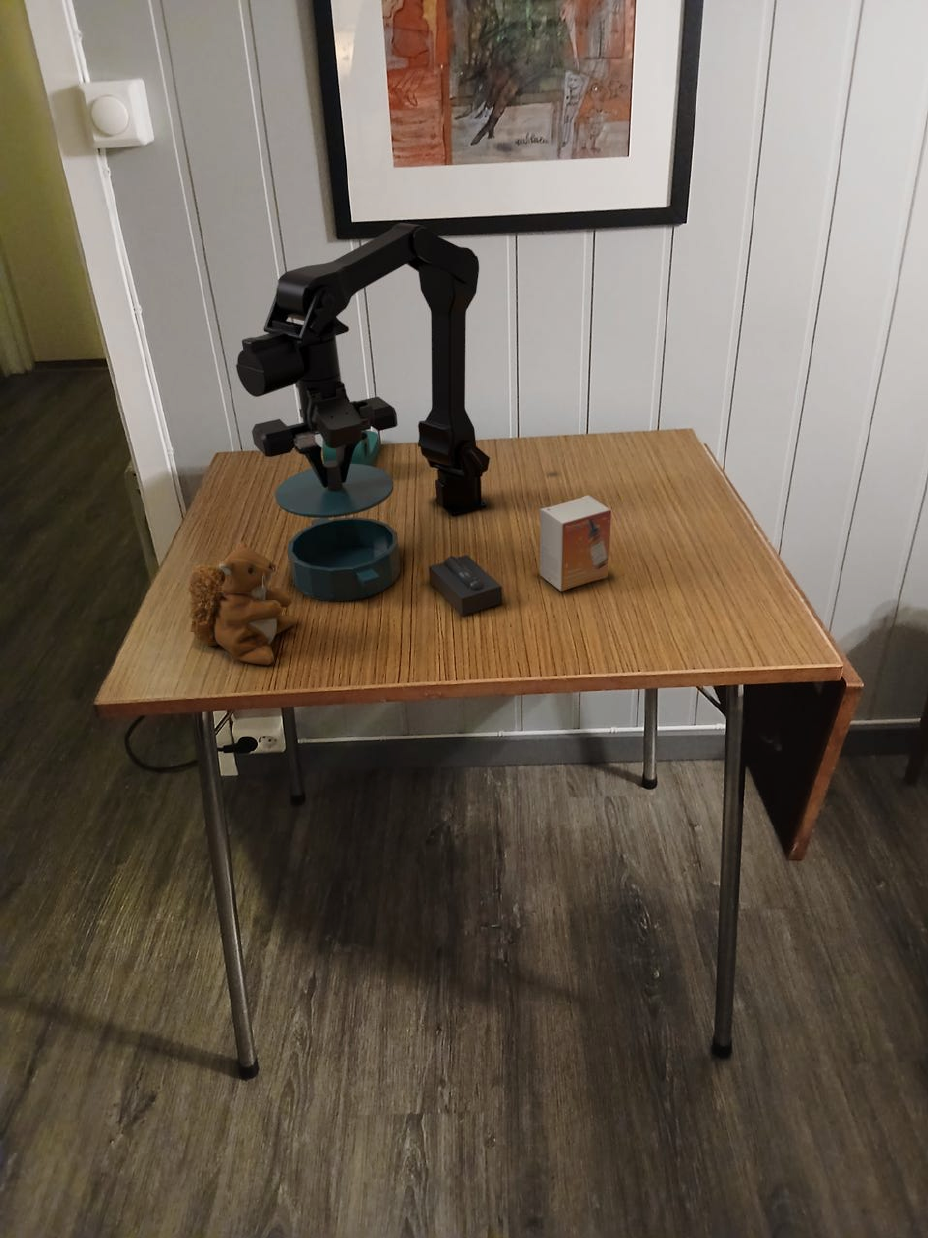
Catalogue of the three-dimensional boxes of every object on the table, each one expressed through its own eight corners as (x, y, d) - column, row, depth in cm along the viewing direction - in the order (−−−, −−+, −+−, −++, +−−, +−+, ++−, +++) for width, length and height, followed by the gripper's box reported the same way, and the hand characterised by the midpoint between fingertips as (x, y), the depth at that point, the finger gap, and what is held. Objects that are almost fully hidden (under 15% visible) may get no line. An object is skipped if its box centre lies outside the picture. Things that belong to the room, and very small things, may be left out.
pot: (369, 531, 144) (365, 501, 141) (426, 590, 128) (423, 558, 126) (273, 556, 139) (268, 527, 136) (320, 622, 123) (315, 589, 120)
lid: (366, 461, 139) (363, 431, 136) (413, 501, 126) (410, 470, 124) (261, 488, 133) (255, 457, 130) (299, 533, 120) (293, 500, 118)
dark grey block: (468, 571, 132) (466, 547, 130) (502, 603, 125) (501, 578, 122) (430, 583, 130) (428, 558, 128) (462, 616, 122) (461, 590, 120)
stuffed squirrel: (275, 668, 114) (257, 576, 107) (174, 655, 118) (150, 565, 111) (307, 624, 122) (293, 536, 115) (212, 613, 126) (192, 527, 119)
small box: (560, 593, 126) (561, 524, 120) (538, 575, 130) (538, 507, 125) (609, 577, 129) (612, 508, 123) (586, 560, 133) (588, 493, 127)
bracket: (364, 482, 160) (359, 439, 155) (326, 482, 160) (320, 439, 156) (382, 441, 174) (378, 401, 170) (347, 441, 175) (342, 401, 171)
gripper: (268, 407, 111) (288, 524, 119) (409, 376, 118) (419, 488, 126) (241, 381, 119) (262, 492, 128) (375, 354, 126) (386, 461, 134)
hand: (333, 484), depth 129 cm, fingers closed on lid, 2 cm apart
